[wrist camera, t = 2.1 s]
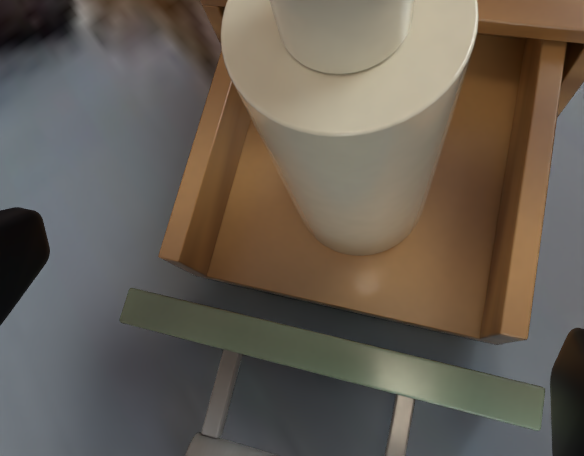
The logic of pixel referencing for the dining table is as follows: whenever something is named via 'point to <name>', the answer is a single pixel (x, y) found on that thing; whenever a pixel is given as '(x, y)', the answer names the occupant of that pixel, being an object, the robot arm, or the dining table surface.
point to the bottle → (351, 104)
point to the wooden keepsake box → (510, 29)
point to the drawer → (382, 266)
